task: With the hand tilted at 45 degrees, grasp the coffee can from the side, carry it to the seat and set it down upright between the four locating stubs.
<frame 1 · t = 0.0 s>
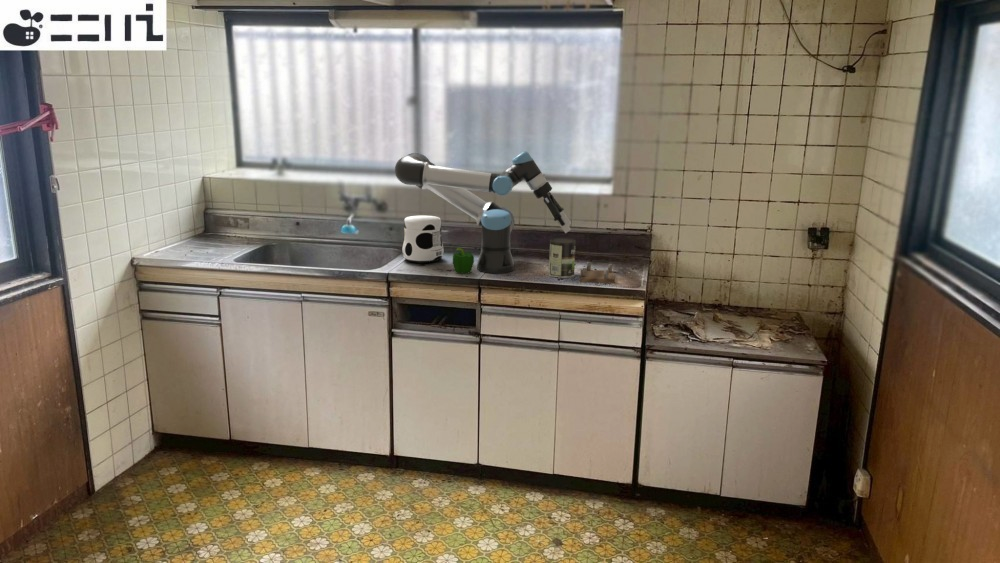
hand: (568, 228, 296), 15 cm above the worktop, tool tilted 35°, fingers open, 13 cm apart
coffee can: (561, 275, 283), on the worktop
bell pepper: (463, 273, 284), on the worktop
milk container: (423, 260, 302), on the worktop
can seat: (595, 278, 279), on the worktop
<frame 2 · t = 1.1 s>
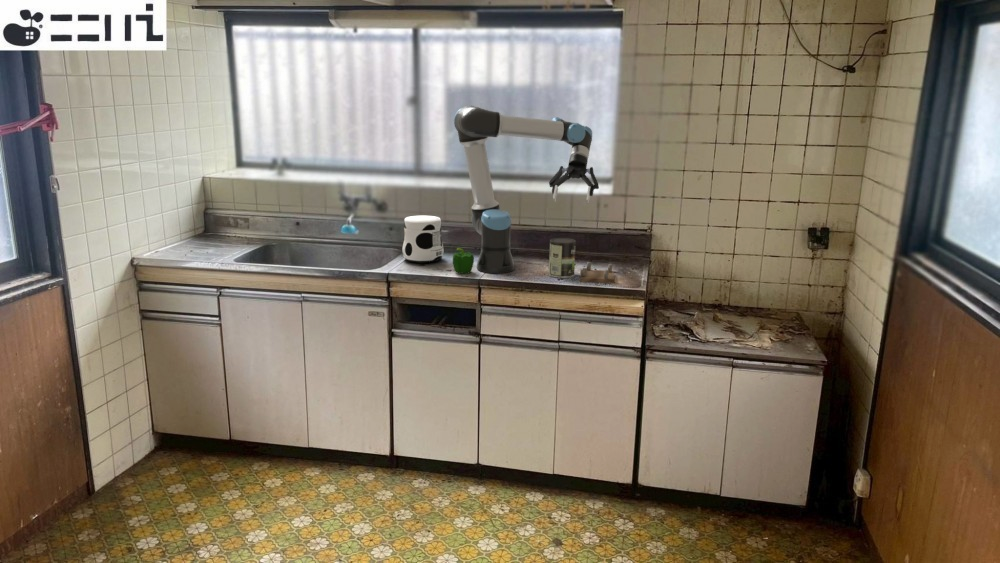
hand: (570, 200, 285), 28 cm above the worktop, tool tilted 45°, fingers open, 13 cm apart
nothing on the worktop moved.
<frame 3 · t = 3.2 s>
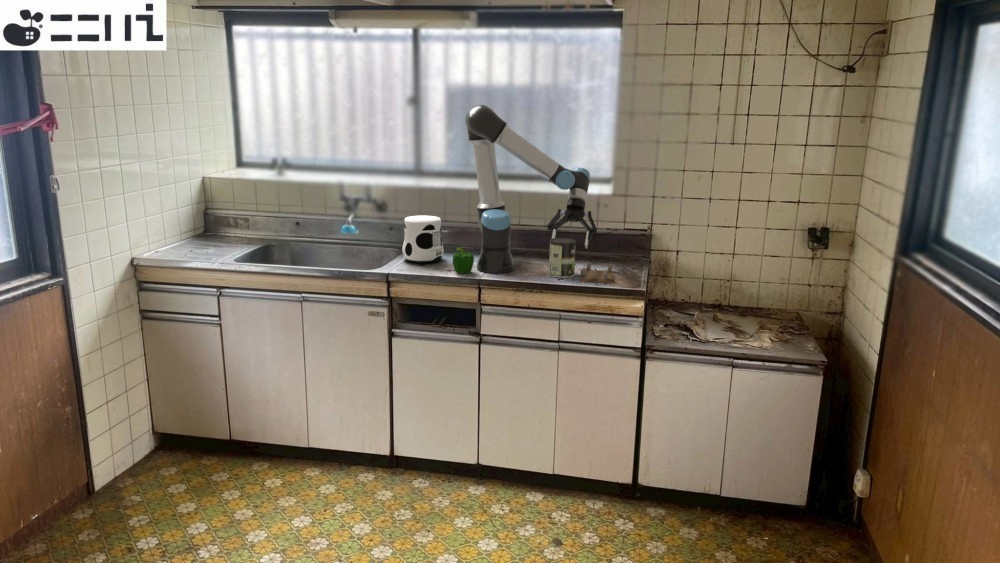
hand: (568, 245, 284), 11 cm above the worktop, tool tilted 45°, fingers open, 13 cm apart
nothing on the worktop moved.
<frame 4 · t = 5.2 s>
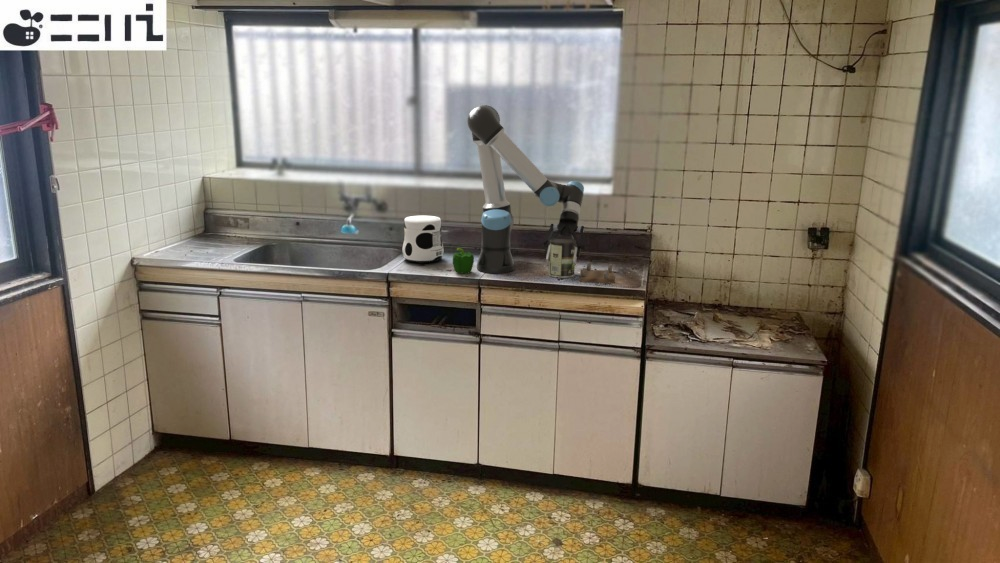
hand: (560, 261, 278), 6 cm above the worktop, tool tilted 45°, fingers closed on coffee can, 10 cm apart
coffee can: (561, 275, 283), on the worktop, touching gripper
everything else where it was.
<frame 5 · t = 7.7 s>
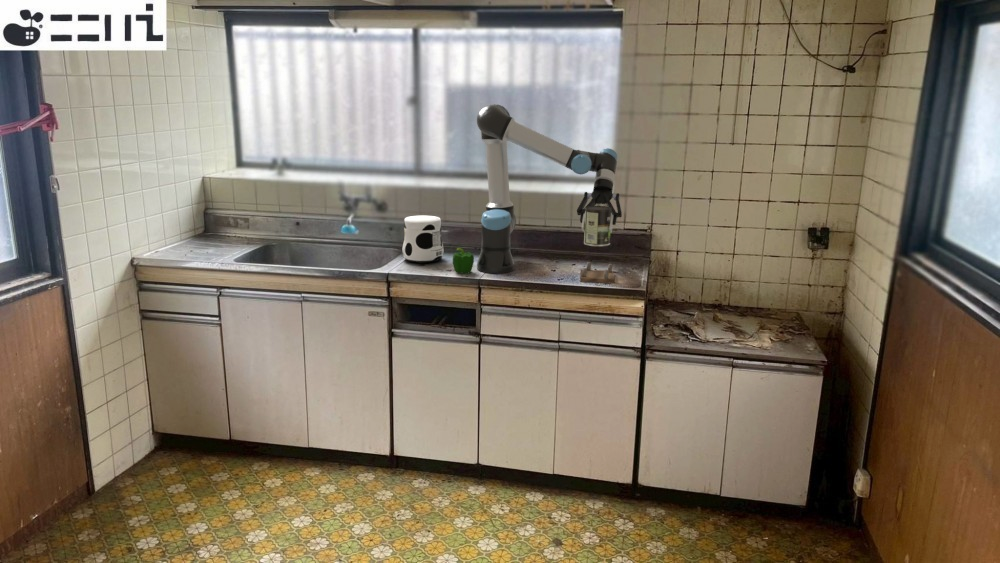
hand: (596, 230, 271), 20 cm above the worktop, tool tilted 45°, fingers closed on coffee can, 10 cm apart
coffee can: (596, 244, 276), point 13 cm above the worktop, touching gripper
everything else where it was.
when the fingers open (9 cm above the worktop, at t = 10.3 s): coffee can drops 1 cm, resting on can seat.
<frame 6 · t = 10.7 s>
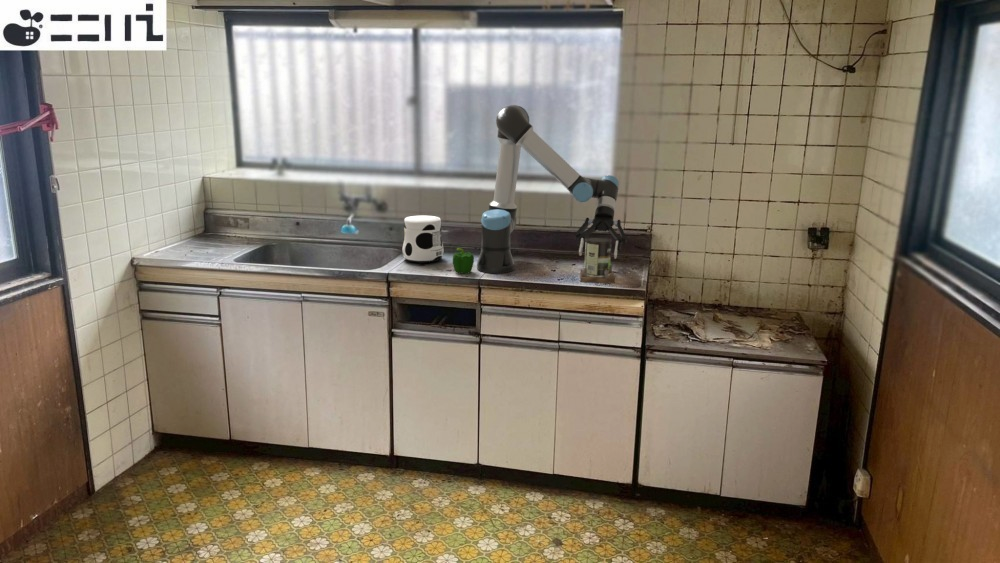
hand: (597, 255, 274), 10 cm above the worktop, tool tilted 45°, fingers open, 13 cm apart
coffee can: (596, 274, 279), point 1 cm above the worktop, touching can seat
everything else where it was.
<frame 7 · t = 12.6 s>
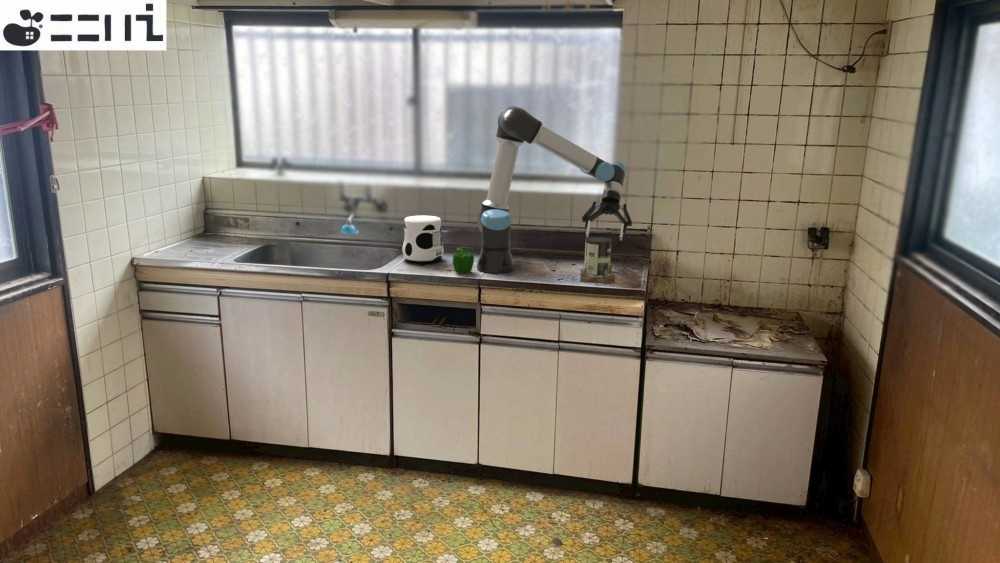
hand: (603, 237, 285), 14 cm above the worktop, tool tilted 45°, fingers open, 13 cm apart
nothing on the worktop moved.
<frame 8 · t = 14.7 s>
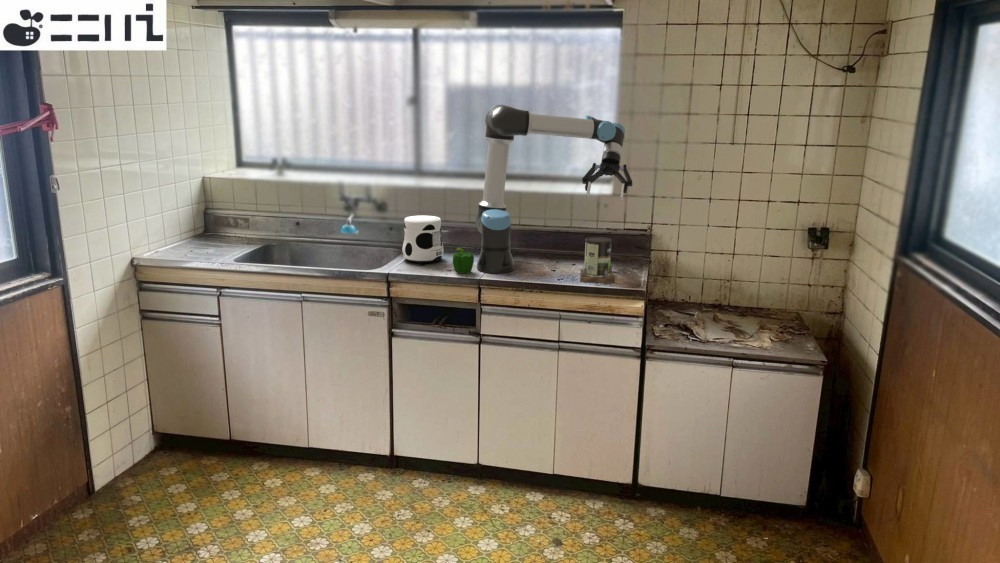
hand: (604, 197, 283), 30 cm above the worktop, tool tilted 45°, fingers open, 13 cm apart
nothing on the worktop moved.
at the end: coffee can 0.3 cm from the can seat (horizontally); coffee can tilted 0°; the gripper is holding nothing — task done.
